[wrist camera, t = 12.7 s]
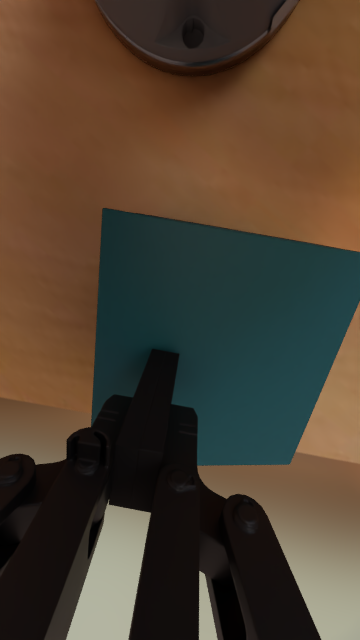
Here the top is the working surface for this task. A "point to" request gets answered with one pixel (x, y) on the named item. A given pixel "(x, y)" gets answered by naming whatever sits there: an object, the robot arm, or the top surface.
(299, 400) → the teal box lid
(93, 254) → the top surface
